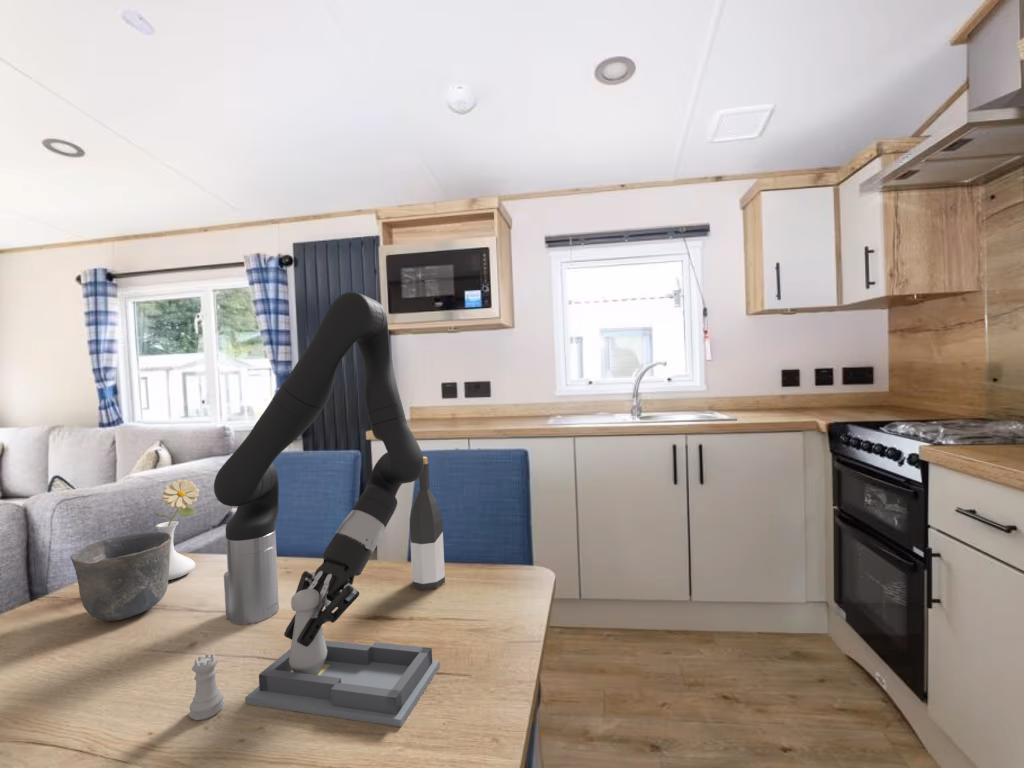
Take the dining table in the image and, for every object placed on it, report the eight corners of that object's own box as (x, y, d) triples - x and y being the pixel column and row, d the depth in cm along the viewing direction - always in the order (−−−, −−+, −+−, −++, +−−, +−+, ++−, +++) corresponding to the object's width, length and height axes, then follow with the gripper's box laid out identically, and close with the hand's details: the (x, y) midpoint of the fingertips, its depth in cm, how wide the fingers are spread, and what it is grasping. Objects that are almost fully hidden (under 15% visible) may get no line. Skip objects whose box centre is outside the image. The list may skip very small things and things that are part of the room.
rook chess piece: (200, 702, 73) (197, 651, 73) (230, 699, 74) (227, 648, 74) (182, 723, 69) (179, 669, 69) (214, 720, 69) (212, 666, 69)
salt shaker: (313, 683, 75) (309, 601, 74) (281, 680, 76) (277, 599, 76) (334, 661, 80) (331, 585, 80) (304, 658, 82) (300, 583, 81)
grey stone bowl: (53, 625, 100) (49, 554, 100) (144, 589, 116) (141, 528, 116) (104, 640, 93) (100, 564, 93) (193, 599, 109) (190, 535, 109)
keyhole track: (439, 666, 80) (439, 646, 80) (401, 726, 66) (400, 702, 66) (305, 651, 86) (305, 632, 86) (245, 703, 73) (244, 681, 73)
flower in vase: (137, 590, 116) (131, 488, 116) (147, 574, 126) (142, 480, 126) (200, 578, 122) (195, 480, 122) (205, 563, 132) (201, 473, 132)
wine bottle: (417, 575, 118) (412, 454, 117) (449, 576, 117) (444, 454, 116) (406, 590, 110) (400, 460, 109) (440, 591, 109) (434, 460, 108)
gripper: (317, 526, 88) (254, 621, 78) (367, 537, 80) (305, 645, 70) (343, 545, 92) (287, 638, 82) (393, 558, 85) (337, 662, 75)
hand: (295, 640), depth 76 cm, fingers closed on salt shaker, 3 cm apart
